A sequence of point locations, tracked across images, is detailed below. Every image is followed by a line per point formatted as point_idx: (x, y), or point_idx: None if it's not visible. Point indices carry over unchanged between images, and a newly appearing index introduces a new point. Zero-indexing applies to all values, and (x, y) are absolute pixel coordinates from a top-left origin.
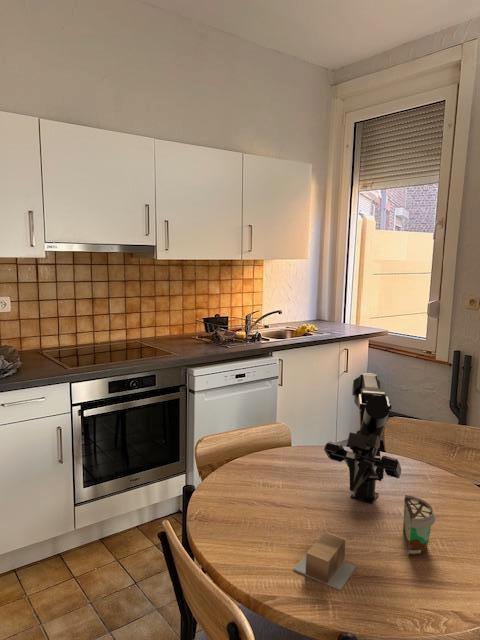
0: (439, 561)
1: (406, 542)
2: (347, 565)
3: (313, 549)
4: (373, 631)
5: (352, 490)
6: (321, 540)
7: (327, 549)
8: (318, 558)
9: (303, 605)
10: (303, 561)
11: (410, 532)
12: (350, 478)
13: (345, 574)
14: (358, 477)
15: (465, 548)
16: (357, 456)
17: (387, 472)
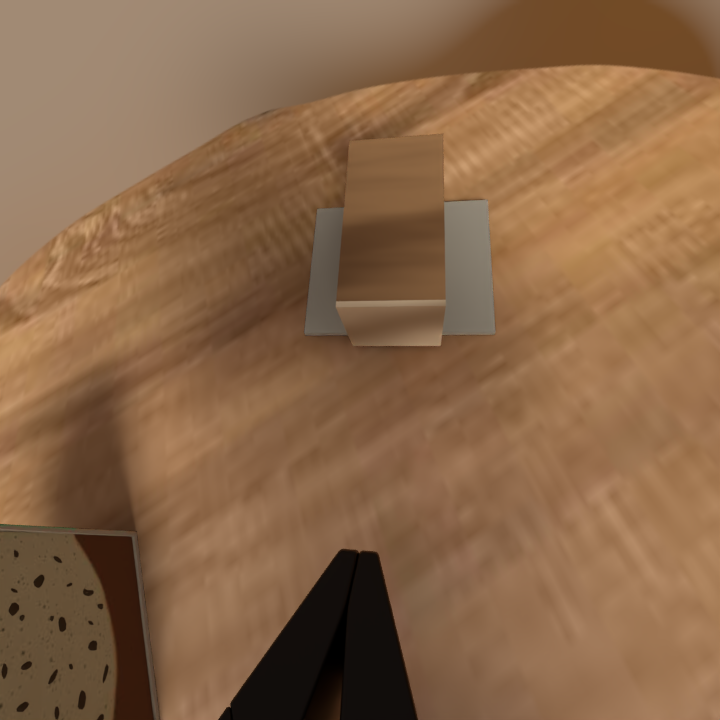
0: None
1: (130, 613)
2: (332, 319)
3: (429, 165)
4: (210, 146)
5: (346, 549)
6: (429, 233)
7: (379, 196)
8: (390, 140)
9: (387, 115)
10: (478, 248)
11: (32, 528)
12: (392, 674)
13: (324, 273)
14: (251, 709)
15: None
16: None
17: None
